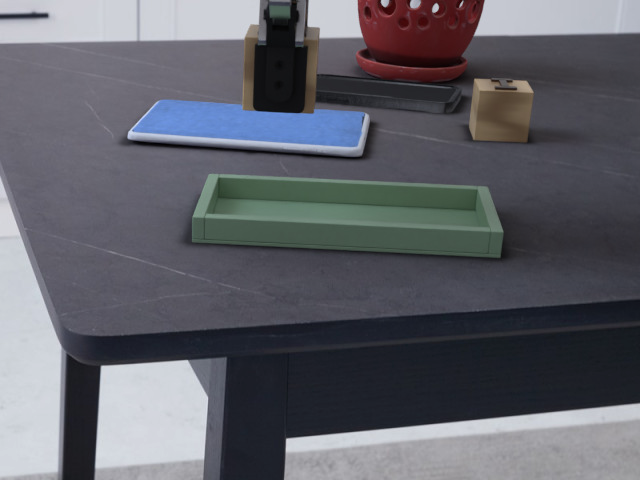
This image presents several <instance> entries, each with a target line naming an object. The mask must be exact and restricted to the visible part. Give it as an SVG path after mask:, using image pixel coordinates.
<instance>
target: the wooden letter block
mask: <svg viewBox="0 0 640 480" xmlns="http://www.w3.org/2000/svg"><path fill="white" fill-rule="evenodd" d="M534 95H535V92H534V90H533V89H532V87H531V85H530V84H529V82H528V81H527V80H518V79H517V80H514V79H513V78H499V77H497V78H496V77H491V78H474V80H473V86H472V96H471V97H472V98H471V105H470V115H469V124H468V128H469V131H470V134H471V137H472V140H473V141H481V142H482V141H483V142H485V141H486V142H503V143H504V142H508V143H511V142H512V143H528V138H529V131H530V125H531V118H532V117H531V116H532V109H533V102H534V97H535V96H534Z"/></svg>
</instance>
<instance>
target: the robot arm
mask: <svg viewBox="0 0 640 480" xmlns="http://www.w3.org/2000/svg"><path fill="white" fill-rule="evenodd" d="M309 3H310V0H259V12H258V13H259V14H258V25H259V30H258V44H255V56H254V85H253V108H254V109H255V110H256V111H259V112H278V113H301V112H302V111H303V110H304V107H305V91H306V72H307V54H308V46H304V31H305V25H308V23H309V7H310V6H309ZM295 26H296V31H295ZM308 26H309V25H308Z"/></svg>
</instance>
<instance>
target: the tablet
mask: <svg viewBox="0 0 640 480" xmlns="http://www.w3.org/2000/svg"><path fill="white" fill-rule="evenodd" d="M370 123H371V120H370V115H369V114H368V113H366V112H363V111H354V110H335V109H321V108H320V109H319V108H314V113H313V114H307V113H278V112H259V111H246V110H243V109H242V104H241V103H240V104H239V103H223V102H210V101H194V100H181V99H165V98H164V99H160V100H158V101H156V102H155V103H154V104H153V105H152V107H150V109H149V110H147V111H146V113H145V114H143V116H142V117H141V118H140V119H139V120H138V121H137V123H135V124H134V125H133V126H132V127H131V128H130V130H128V132H127V139H128V140H130V141H135V142H143V143H157V144H167V145H180V146H192V147H204V148H216V149H217V148H218V149H228V150H229V149H230V150H246V151H257V152H258V151H259V152H272V153H275V152H276V153H285V154H300V155H301V154H302V155H313V156H314V155H315V156H328V157H329V156H330V157H342V158H359V157H362V156H363V154H364V150H365V146H366V141H367V138H368V132H369V128H370Z"/></svg>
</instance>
